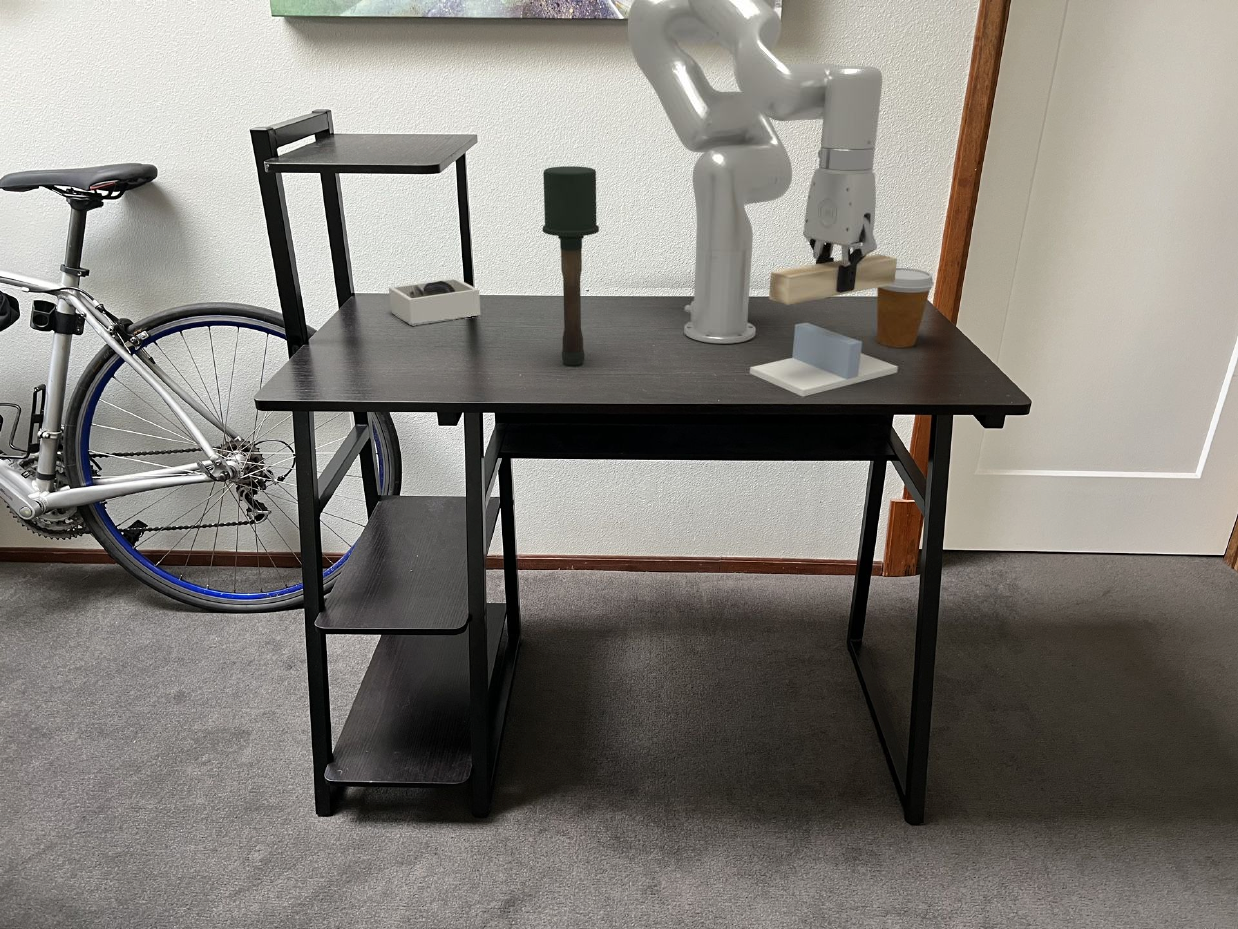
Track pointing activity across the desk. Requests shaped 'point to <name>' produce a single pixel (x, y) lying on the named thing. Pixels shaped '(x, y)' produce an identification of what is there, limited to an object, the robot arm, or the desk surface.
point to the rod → (829, 279)
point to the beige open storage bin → (435, 302)
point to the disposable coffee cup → (902, 307)
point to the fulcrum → (822, 363)
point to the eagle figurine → (433, 289)
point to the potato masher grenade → (570, 241)
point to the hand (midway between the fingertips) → (833, 286)
